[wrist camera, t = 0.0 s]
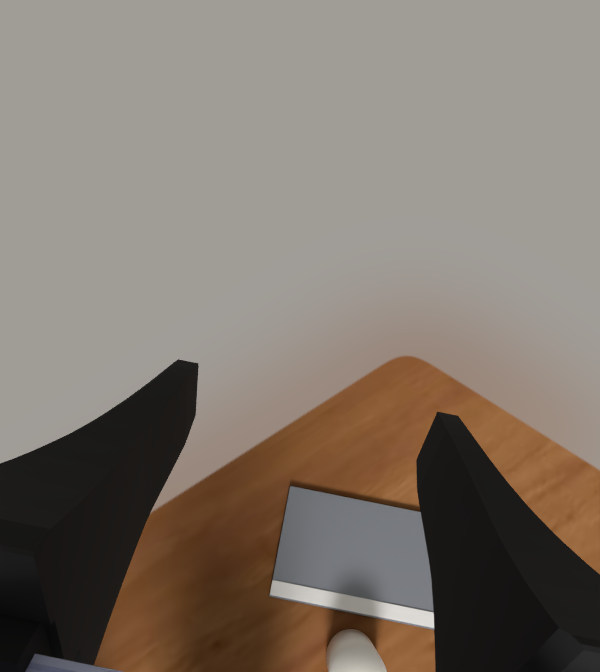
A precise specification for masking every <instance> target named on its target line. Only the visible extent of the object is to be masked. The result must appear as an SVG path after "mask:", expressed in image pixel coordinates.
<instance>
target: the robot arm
mask: <svg viewBox="0 0 600 672" xmlns="http://www.w3.org/2000/svg"><path fill="white" fill-rule="evenodd" d="M197 380H198V363H193V362H187V361H183V360H177V361H176V362H174V363H173V364H172V365H170V366H169V367H168V368H167V369H165V370H164V371H163V372H162V373H160V374H159V375H158V376H157V377H155V378H154V379H153V380H151V381H150V382H149V383H148V384H146V385H145V386H144V387H142V388H141V389H140V390H138V391H137V392H135V393H134V394H133V395H131V396H130V397H129V398H127V399H126V400H124V401H123V402H121V403H120V404H118V405H117V406H116V407H114V408H112V409H111V410H109V411H108V412H107V413H105V414H103V415H102V416H100V417H98V418H97V419H95V420H94V421H92V422H90V423H88V424H87V425H85V426H83V427H82V428H79V429H78V430H76V431H74V432H72V433H70V434H69V435H66V436H64V437H62V438H60V439H58V440H56V441H53V442H52V443H49V444H47V445H45V446H43V447H41V448H38V449H36V450H34V451H32V452H29V453H27V454H24V455H22V456H19V457H17V458H14V459H12V460H9V461H6V462H4V463H1V464H0V672H122V671H117V670H112V669H107V668H103V667H98V666H93V665H94V662H95V659H96V657H97V654H98V651H99V648H100V645H101V642H102V639H103V636H104V633H105V630H106V627H107V624H108V622H109V619H110V616H111V613H112V610H113V608H114V605H115V602H116V599H117V597H118V594H119V591H120V588H121V586H122V583H123V580H124V578H125V575H126V572H127V570H128V567H129V564H130V562H131V559H132V556H133V554H134V551H135V549H136V546H137V543H138V541H139V538H140V536H141V533H142V531H143V528H144V526H145V523H146V521H147V519H148V517H149V514H150V512H151V510H152V508H153V506H154V504H155V502H156V500H157V498H158V496H159V494H160V492H161V490H162V488H163V486H164V484H165V483H166V481H167V479H168V476H169V475H170V473H171V471H172V469H173V467H174V465H175V463H176V461H177V459H178V457H179V455H180V453H181V451H182V449H183V447H184V445H185V443H186V440H187V437H188V434H189V432H190V429H191V426H192V423H193V421H194V418H195V413H196V397H197ZM417 492H418V498H419V505H420V511H421V517H422V523H423V529H424V535H425V541H426V547H427V553H428V558H429V565H430V573H431V581H432V596H433V612H434V633H435V661H436V672H600V574H598V573H597V572H596V571H595V570H594V569H592V568H591V567H590V566H589V565H588V564H587V563H585V562H584V561H583V560H582V559H581V558H580V557H579V556H578V555H577V554H575V553H574V552H573V551H572V550H571V549H570V548H569V547H568V546H567V545H566V544H564V543H563V542H562V541H561V540H560V539H559V538H558V537H557V536H556V535H555V534H554V533H553V532H552V531H551V530H550V529H549V528H548V527H547V526H546V525H545V524H544V523H543V522H542V521H541V520H540V519H539V518H538V517H537V515H536V514H535V513H534V512H533V511H532V510H531V509H530V508H529V507H528V506H527V505H526V504H525V502H524V501H523V500H522V499H521V498H520V497H519V495H518V494H517V493H516V492H515V491H514V489H513V488H512V487H511V486H510V485H509V484H508V482H507V481H506V480H505V479H504V477H503V476H502V475H501V474H500V472H499V471H498V470H497V468H496V467H495V466H494V464H493V463H492V462H491V460H490V459H489V458H488V456H487V455H486V454H485V452H484V451H483V450H482V448H481V447H480V446H479V444H478V443H477V441H476V440H475V439H474V437H473V436H472V434H471V433H470V432H469V430H468V429H467V427H466V426H465V425H464V423H463V422H462V421H461V419H460V418H459V417H458V416H456V415H451V414H446V413H441V412H437V414H436V416H435V419H434V421H433V423H432V426H431V428H430V430H429V432H428V435H427V437H426V439H425V442H424V444H423V446H422V448H421V451H420V453H419V455H418V458H417Z"/></svg>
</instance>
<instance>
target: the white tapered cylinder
mask: <svg viewBox="0 0 600 672" xmlns="http://www.w3.org/2000/svg"><path fill="white" fill-rule="evenodd" d="M326 664H327V668H328V672H387V670H386V667H385V665H384V663H383V661H382V659H381V658H380V656H379V654H378V652H377V651H376V649H375V647H374V646H373V644H372V642H371V640H370V639H369V638H368V637H367V636H366V635H365V634H364V633H363V632H361V631H359V630H356V629H345V630H342V631H340V632H338V633H337V634H336V635H335V636H334V637H333V638H332V639H331V641H330V642H329V645H328V647H327V651H326Z"/></svg>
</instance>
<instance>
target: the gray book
mask: <svg viewBox="0 0 600 672" xmlns="http://www.w3.org/2000/svg"><path fill="white" fill-rule="evenodd" d="M270 597H275V598H279V599H284V600H289V601H294V602H299V603H304V604H309V605H314V606H319V607H324V608H329V609H334V610H339V611H344V612H349V613H354V614H359V615H363V616H368V617H373V618H378V619H383V620H388V621H393V622H398V623H403V624H408V625H413V626H418V627H423V628H428V629H433V630H434V612H433V596H432V581H431V573H430V565H429V558H428V553H427V547H426V541H425V535H424V529H423V523H422V517H421V512H417V511H412V510H408V509H403V508H398V507H393V506H388V505H383V504H378V503H373V502H368V501H363V500H358V499H353V498H348V497H343V496H338V495H333V494H328V493H323V492H318V491H313V490H308V489H303V488H298V487H293V486H290V489H289V495H288V500H287V505H286V511H285V516H284V521H283V527H282V532H281V537H280V542H279V548H278V553H277V558H276V564H275V569H274V574H273V580H272V585H271V590H270Z"/></svg>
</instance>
